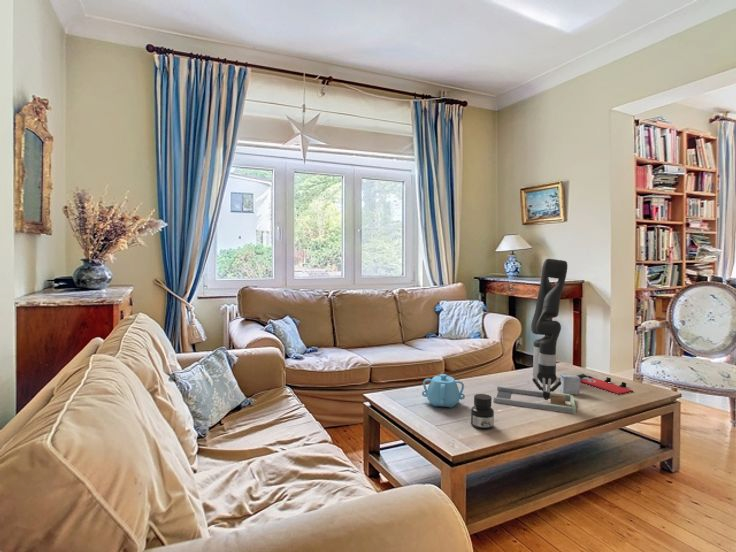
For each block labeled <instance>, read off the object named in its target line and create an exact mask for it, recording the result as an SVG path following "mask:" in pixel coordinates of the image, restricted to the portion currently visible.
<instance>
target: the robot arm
mask: <svg viewBox="0 0 736 552" xmlns="http://www.w3.org/2000/svg"><path fill="white" fill-rule="evenodd" d="M567 273H568V262H567V261H566V260H561V259H556V258H555V259H554V258H546V259H544V261H543V263H542V269H541V275H540V285H539V288H538V293H537V297H536V302H535V303H536V304H535V308H534V313H533V317H532V320H531V324H530V325H531V326H530V329H531V332H532V334H534V335H538V336H539V335H542V336H543V337H541V338H539V339H535V340H534V341H533V355H532V356H533V357H532V359H533V361H532V382H533V383H534V385H535V386H536V387H537V389H538V390H539V391H541V392H543V397H542V399H544V400H545V401H549V400H550V399H551V398H550V392H555V391H556V390H557V389H558V388H559V387H560V385H561V379H560V380H559V378H558V377H557V375H556V374H557V354H556V353H557V342H558V339H559V337H560V333H561V330H562V325H561V323H560V322H559V321H557V320H552V319H554V318H557V317H558V316H559V313H560V311H559V310H560V303H561V297H562V293H563V290H564V286H565V282H566V278H567V275H568V274H567ZM550 279H557V281H556V283H555V285H554V287H553V284H552V283H551V281H550ZM539 382H540V383H541V384H542V386H541V384H540V383H539ZM553 384H554V385H553ZM552 385H553V386H552ZM546 386H547V387H546ZM551 386H552V387H551Z"/></svg>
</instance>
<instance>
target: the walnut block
mask: <svg viewBox="0 0 736 552" xmlns="http://www.w3.org/2000/svg"><path fill="white" fill-rule="evenodd" d="M550 404H555V405H563V406H566V399H565V395H560V394H552V393H551V398H550Z"/></svg>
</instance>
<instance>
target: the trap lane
mask: <svg viewBox="0 0 736 552" xmlns="http://www.w3.org/2000/svg"><path fill="white" fill-rule="evenodd" d="M497 390H498V391H497ZM496 391H497V394H496V396H495V397H493V403H497V404H504V405H511V406H517V407H527V408H532V409H540V410H546V409H547V410H546V411H553V410H554V411H556V412H560V411H561V413H569V414H575V415H576V413H577V412H576V411H577V408H576V403H575V399H574V395H573V394H563V393H562V392H555V391H554V392H550V398H549V399H551V393H552V394H560V395H565V399H566V400H567V401H570V406H569V405H565V406H563V405H555V404H551V403H540V402H539V403H538V402H533V401H525V400H516V399H511V395H512V394H518V393H519V394H521V395H526V394H527V396H534V395H535V397H541V396H543V391H541V390H539V391H538V390H532V389H523V388H515V387H507V386H499V385H497V389H496ZM511 392H512V393H511Z"/></svg>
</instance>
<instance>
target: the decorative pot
mask: <svg viewBox="0 0 736 552" xmlns="http://www.w3.org/2000/svg"><path fill="white" fill-rule="evenodd" d="M426 382H429V384H428V387H427V386H426ZM458 384H460V385H461V387H460V388H461V389H459V386H458ZM422 386H423V389H424V390H422V392H421V394H422V396H423V397H426V398H427V401H428V402H429V403H430V404H431V405H432V406H433V407H444V408H445V407H446V408H453V407H455V406H456V405H457V404H458V403H459V401H460V400H465V398H466V397H465V396H466V395H465V394H464V393H463V392H464V389H465V384H464V383H463V381H461V380H457V379H455V378H454V377H453V376H449V375H448V374H445V373H441V374H439V375H435V376H433V377H432V378H425V379H424V380H423V382H422Z"/></svg>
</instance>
